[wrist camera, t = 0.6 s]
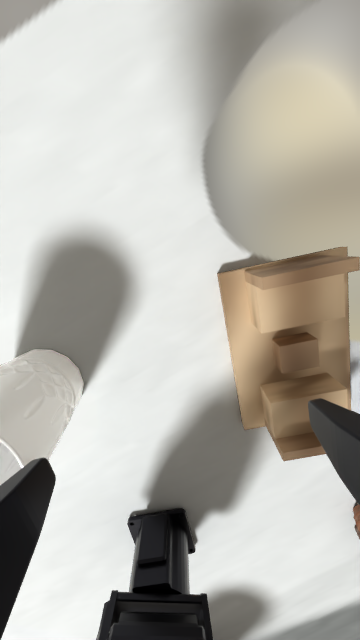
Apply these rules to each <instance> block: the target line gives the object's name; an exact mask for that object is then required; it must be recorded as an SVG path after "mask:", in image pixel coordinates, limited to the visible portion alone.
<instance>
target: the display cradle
mask: <svg viewBox="0 0 360 640" xmlns="http://www.w3.org/2000/svg"><path fill="white" fill-rule="evenodd" d="M359 264H360V263H359V257H348V256H347V247H338V248H334V249H329V250H324V251H320V252H315V253H310V254H306V255H301V256H296V257H292V258H287V259H282V260H278V261H273V262H268V263H264V264H259V265H254V266H250V267H245V268H240V269H236V270H231V271H226V272H222V273H217V275H218V281H219V287H220V293H221V299H222V305H223V311H224V317H225V323H226V329H227V335H228V341H229V346H230V352H231V358H232V364H233V370H234V376H235V382H236V388H237V394H238V400H239V406H240V412H241V418H242V424H243V427H244V430H248V429H254V428H259V427H265V426H266V427H267V429H268V431H269V433H270V435H271V437H272V439H273V441H274V443H275V445H276V447H277V449H278V451H279V453H280V455H281V457H282V459H283V461H288V460H294V459H299V458H305V457H311V456H317V455H322V454H326V452H325V451H324V449H323V447H322V445H321V443H320V442H319V440H318V438H317V436H316V435H315V433H314V431H313V429H312V427H311V424H310V419H309V411H308V402H309V401H310V400H314V399H318V398H322V399H325V400H327V401H330V402H332V403H334V404H337V405H339V406H342V407H344V408H346V409H349V410H351V392H350V346H349V303H348V302H349V301H348V272H352V271H358V270H359V268H360V267H359V266H360V265H359Z"/></svg>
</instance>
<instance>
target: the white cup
mask: <svg viewBox="0 0 360 640" xmlns="http://www.w3.org/2000/svg"><path fill="white" fill-rule="evenodd" d="M83 386H84V382H83V379H82V376H81V373H80V371H79V368H78V367H77V366H76V365H75V364H74V363H73V362H72V361H71V360H70V359H69V358H68V357H67V356H64V355H62V354H60V353H58V352H55V351H53V350H46V349H33V350H31V351H29V352H26V353H24V354H22V355H20V356H18V357H16V358H14V359H13V360H11V361H9V362H8V363H4V364H2V365H0V485H1V484H3V483H4V482H5V481H6V480H8V479H9V478H10V477H11V476H13V475H14V474H15V473H17V472H18V471H19V470H20V469H22V468H23V467H24V466H25V465H27V464H28V463H29V462H30V461H32V460H34V459H38V458H43V457H44V458H46V459H48V461H49V459H50V457H51V455H52V454H53V452H54V450H55V448H56V446H57V445H58V443H59V441H60V439H61V437H62V435H63V432H64V431H65V429H66V427H67V425H68V423H69V421H70V419H71V417H72V414H73V412H74V410H75V408H76V406H77V405H78V403H79V401H80V399H81V397H82V392H83Z"/></svg>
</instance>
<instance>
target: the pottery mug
mask: <svg viewBox="0 0 360 640" xmlns="http://www.w3.org/2000/svg"><path fill="white" fill-rule="evenodd" d="M353 512H354V519H355V522H356V525H355V530H356V532H357V535H358V537H359V539H360V505H357V506H355V507H354V508H353Z"/></svg>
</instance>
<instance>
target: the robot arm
mask: <svg viewBox="0 0 360 640" xmlns="http://www.w3.org/2000/svg"><path fill="white" fill-rule="evenodd" d="M308 411H309V419H310V424H311V427H312V429H313V431H314V433H315V435H316V436H317V438H318V440H319V442H320V443H321V445H322V447H323V449H324V451H325V452H326V454H327V456H328V458H329V459H330V461H331V463H332V465H333V466H334V468H335V470H336V472H337V473H338V475H339V477H340V478H341V480H342V481H343V483H344V484H345V485H346V487H347V488H348V490H349V491H350V493H351V494H352V495H353V497H354V498H355V500H356V501H357V503H358V504H359V505H360V414H358V413H356V412H354V411H351V410H349V409H346V408H344V407H342V406H339V405H337V404H334V403H332V402H330V401H327V400H325V399H322V398H318V399H314V400H310V401H309V402H308ZM55 480H56V478H55V474H54V472H53V470H52V467H51V465H50V463H49V461H48V459H46V458H44V457H43V458H38V459H34V460H32V461H30V462H29V463H28V464H27V465H25V466H24V467H23V468H22V469H20V470H19V471H18V472H17V473H15V474H14V475H13V476H11V477H10V478H9V479H8V480H6V481H5V482H4V483H3V484H1V485H0V640H1V638H2V635H3V632H4V630H5V627H6V624H7V622H8V619H9V616H10V614H11V611H12V609H13V606H14V603H15V601H16V598H17V595H18V593H19V590H20V587H21V585H22V582H23V579H24V577H25V574H26V571H27V569H28V566H29V563H30V561H31V558H32V555H33V553H34V550H35V547H36V545H37V542H38V539H39V536H40V533H41V530H42V527H43V524H44V520H45V517H46V513H47V510H48V506H49V503H50V499H51V496H52V492H53V489H54V486H55ZM128 527H129V530H130V532H131V535H132V538H133V540H134V543H135V552H134V559H133V566H132V573H131V580H130V587H129V592H118V590H112V593H111V597H110V601H108V602H106V603H105V604H104V609H103V614H102V619H101V623H100V628H99V632H98V635H97V638H96V640H213V637H212V630H211V622H210V615H209V608H208V600H207V594H205V593H201V595H193V594H190V592H189V563H188V554H192V553H194V552H195V544H194V540H193V536H192V533H191V529H190V526H189V522H188V518H187V515H186V511H185V510H184V509H176V510H170V511H164V512H158V513H152V514H146V515H140V516H134V517H130V518H129V519H128Z"/></svg>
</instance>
